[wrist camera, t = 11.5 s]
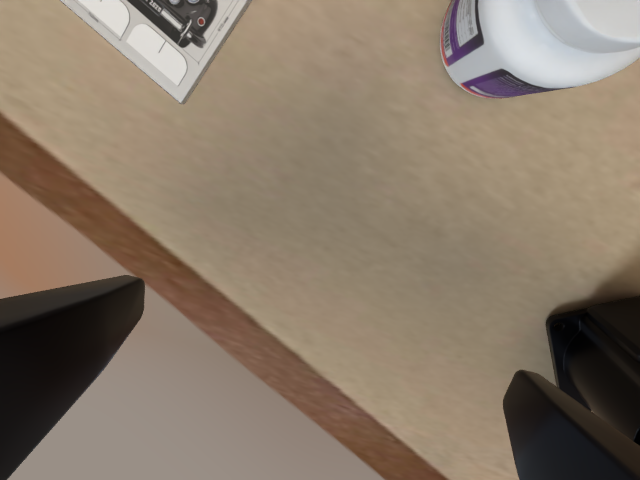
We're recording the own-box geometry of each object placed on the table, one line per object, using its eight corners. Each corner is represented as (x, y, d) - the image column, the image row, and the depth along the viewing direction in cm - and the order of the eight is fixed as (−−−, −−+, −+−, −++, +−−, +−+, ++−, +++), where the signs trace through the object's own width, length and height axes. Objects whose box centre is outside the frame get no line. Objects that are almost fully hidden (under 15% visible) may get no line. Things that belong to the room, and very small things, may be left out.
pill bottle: (589, 35, 16) (881, -70, 7) (484, 123, 18) (611, 130, 9) (515, -68, 15) (738, -340, 6) (412, 34, 17) (469, -63, 8)
